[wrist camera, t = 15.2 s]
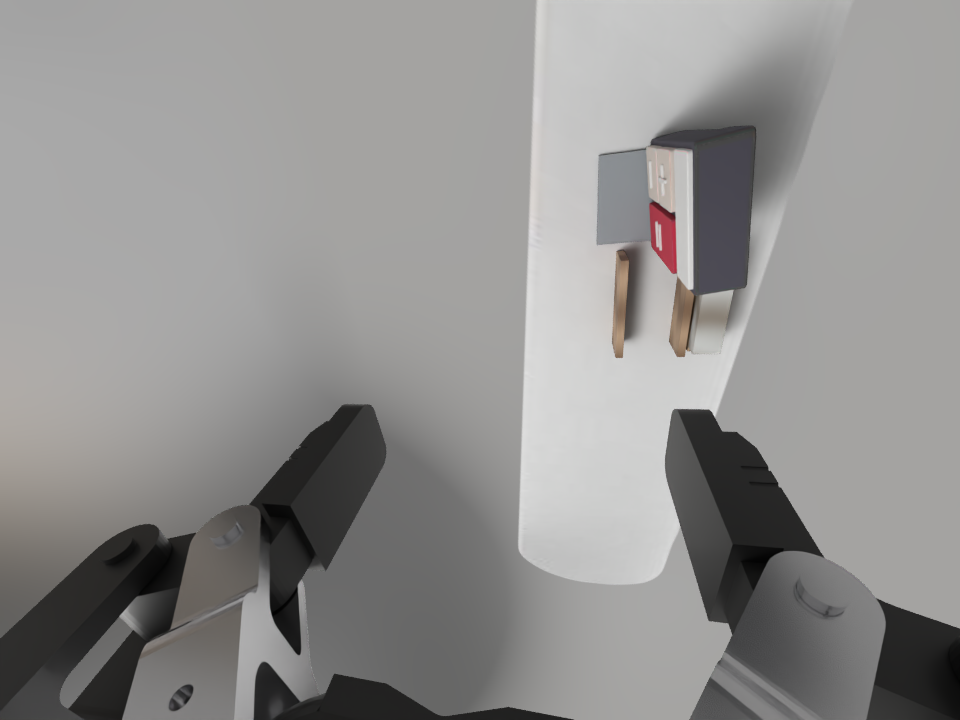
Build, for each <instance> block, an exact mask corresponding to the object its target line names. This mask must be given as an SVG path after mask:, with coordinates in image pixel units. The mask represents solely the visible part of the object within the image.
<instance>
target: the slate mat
mask: <svg viewBox="0 0 960 720" xmlns="http://www.w3.org/2000/svg"><path fill="white" fill-rule="evenodd" d="M652 202H654V200H653V199H651V198H650V197H649V193H648V175H647V157H646V150H639V151H631V152H623V153H616V154H608V155H600V156H599V171H598V214H597V245H602V244H614V243H627V242H639V241H651V229H650V211H649V203H652Z"/></svg>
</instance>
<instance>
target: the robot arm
mask: <svg viewBox="0 0 960 720" xmlns="http://www.w3.org/2000/svg"><path fill="white" fill-rule="evenodd" d="M385 458H386V445H385V442H384V438H383V435H382V432H381V429H380V426H379V423H378V420H377V417H376V414H375V411H374V409H373V407H372V406H371V405H368V404H367V405H366V404H364V405H363V404H345V405H342V406H341V407H340V408H339V409H338V411H337V412H336V413H335V414H334V416H333V417H332V418H331V419H330V420H329V421H326V422H325V423H324V424H322V425H321V426H319V427H318V428H316V429H315V430H314V431H312V432H311V433H310V434H309V435H308V436H307V437H306V438H305V440H304V441H303V442H302V443H301V444H300V445H299V449H296V450H295V451H294V452H293V454H292V455H291V456H290V457H289V461H286V462H285V463H284V464H283V465H282V467H281V468H280V469H279V470H278V471H277V472H276V474H275V475H274V476H273V477H272V478H271V479H270V481H269V482H268V483H267V484H266V485H265V486H264V488H263V489H262V490H261V491H260V492H259V494H258V495H257V496H256V497H255V498H254V500H253V501H252V502H251V503H250V504H249V505H240V506H235V507H232V508H229V509H227V510H225V511H223V512H221V513H219V514H217V515H216V516H214V517H213V518H211V519H210V520H209V521H208V522H206V523H205V524H204V525H203V526H202V527H201V528H200V529H199V530H198V532H197V533H193V534H188V535H183V536H179V537H174V538H170V539H167V538H166V537H165V536H164V535H163V533H162V532H161V531H160V530H159V529H158V528H157V527H156V526H155V525H151V524H144V525H139V526H135V527H132V528H130V529H127V530H125V531H123V532H121V533H119V534H117V535H116V536H114V537H112V538H111V539H109V540H108V541H106V542H105V543H103V544H102V545H101V546H99V547H98V548H97V549H96V550H95V551H94V552H93V553H92V554H90V555H89V556H88V557H87V558H86V559H85V560H84V561H83V562H82V563H81V564H80V565H79V566H78V567H77V568H75V569H74V570H73V571H72V572H71V573H70V574H69V575H68V576H67V577H66V578H65V579H64V580H63V581H62V582H60V583H59V584H58V585H57V586H56V587H55V588H54V589H53V590H52V591H51V592H50V593H49V594H48V595H46V596H45V597H44V598H43V599H42V600H41V601H40V602H39V603H38V604H37V605H36V606H35V607H34V608H33V609H32V610H30V611H29V612H28V613H27V614H26V615H25V616H24V617H23V618H22V619H21V620H20V621H19V622H18V623H16V624H15V625H14V626H13V627H12V628H11V629H10V630H9V631H8V632H7V633H6V634H5V635H4V636H3V637H2V638H0V720H573V719H568V718H562V717H557V716H552V715H547V714H542V713H536V712H531V711H526V710H521V709H516V708H510V707H506V708H499V709H492V710H486V711H480V712H472V713H465V714H458V715H452V716H440V715H437V714H435V713H433V712H432V711H430V710H428V709H427V708H425V707H423V706H422V705H420V704H419V703H417V702H415V701H414V700H412V699H411V698H409V697H407V696H406V695H404V694H402V693H401V692H399V691H398V690H396V689H394V688H392V687H391V686H389V685H388V684H385V683H379V682H374V681H369V680H364V679H359V678H354V677H348V676H343V675H338V674H334V675H333V678H332V680H331V683H330V685H329V687H328V689H327V692H326V693H324V694H321V695H320V694H319V690H318V686H317V683H316V680H315V678H314V675H313V672H312V668H311V663H310V655H309V641H308V628H307V616H306V602H305V589H304V584H303V582H302V581H301V579H302V577H303V576H304V574H305V572H306V570H307V569H312V570H320V571H326V570H327V568H328V566H329V564H330V563H331V561H332V559H333V557H334V555H335V553H336V551H337V550H338V548H339V546H340V544H341V542H342V541H343V539H344V537H345V535H346V533H347V531H348V529H349V528H350V526H351V524H352V522H353V520H354V519H355V517H356V515H357V513H358V511H359V509H360V508H361V506H362V504H363V502H364V500H365V498H366V497H367V495H368V493H369V491H370V489H371V487H372V486H373V484H374V482H375V480H376V478H377V477H378V474H379V473H380V471H381V469H382V467H383V465H384V463H385ZM665 471H666V478H667V482H668V486H669V489H670V492H671V496H672V499H673V502H674V506H675V509H676V513H677V516H678V519H679V523H680V526H681V529H682V533H683V536H684V539H685V543H686V546H687V549H688V553H689V556H690V559H691V563H692V566H693V569H694V573H695V576H696V579H697V583H698V586H699V590H700V593H701V596H702V600H703V603H704V607H705V610H706V613H707V617H708V620H709V621H714V622H722V623H729V626H730V629H731V632H732V637H731V639H730V642H729V644H728V646H727V648H726V650H725V652H724V654H723V656H722V658H721V660H720V661H719V662H718V663H717V665H716V666H715V668H714V671H713V672H712V674H711V677H710V678H709V680H708V682H707V684H706V686H705V689H704V691H703V693H702V695H701V697H700V699H699V701H698V703H697V705H696V707H695V709H694V711H693V714H692V716H691V718H690V720H960V629H959V628H956V627H953V626H951V625H948V624H945V623H942V622H939V621H936V620H933V619H930V618H927V617H924V616H921V615H919V614H915V613H913V612H910V611H907V610H904V609H901V608H898V607H895V606H893V605H890V604H888V603H885V602H883V601H881V600H879V599H877V598H875V596H874V595H873V594H872V593H871V591H870V590H869V589H868V588H867V587H866V586H865V585H864V584H863V583H862V582H861V581H860V580H859V579H858V578H856V577H855V576H854V575H853V574H851V573H850V572H848V571H847V570H845V569H844V568H843V567H841V566H839V565H837V564H836V563H834V562H832V561H830V560H827V559H825V558H824V556H823V555H822V553H821V552H820V550H819V549H818V547H817V546H816V544H815V542H814V541H813V539H812V537H811V536H810V534H809V532H808V531H807V529H806V528H805V526H804V524H803V523H802V521H801V519H800V518H799V516H798V515H797V513H796V511H795V510H794V508H793V507H792V505H791V503H790V501H789V500H788V498H787V497H786V495H785V493H784V492H783V490H782V489H781V488H780V487H779V486H778V482H777V480H776V479H775V477H774V475H773V474H772V472H771V471H769V470H768V466H767V464H766V462H765V461H764V459H763V458H762V456H761V454H760V453H759V451H758V450H757V448H756V447H755V446H753V445H752V444H751V443H750V442H748V441H747V440H746V439H745V438H743V437H742V436H741V435H739V434H738V433H737V432H722V430H721V429H720V427H719V425H718V423H717V421H716V419H715V417H714V415H713V414H712V412H711V411H710V410H700V409H674V410H673V412H672V415H671V422H670V428H669V435H668V442H667V448H666V455H665ZM118 617H120V618H121V619H122V620H123V621H124V622H126V623H127V624H128V625H129V626H130V627H131V628H132V629H133V631H132V632H131V634H130V635H129V636H128V637H127V638H126V640H125V641H124V642H123V643H122V645H121V646H120V647H119V648H118V649H117V651H116V652H115V653H114V654H113V656H112V657H111V658H110V659H109V660H108V662H107V663H106V664H105V665H104V666H103V668H102V669H101V670H100V671H99V673H98V674H97V675H96V676H95V677H94V679H93V680H92V681H91V683H90V684H89V685H88V686H87V687H86V688H85V690H84V691H83V692H82V693H81V695H80V696H79V697H78V698H77V699H76V701H75V702H74V703H73V704H72V706H71V707H70V708H69V709H67V708H65V707H64V706H63V705H62V704H61V703H60V698H59V697H60V690H61V688H62V685H63V683H64V681H65V679H66V678H67V676H68V675H69V673H70V672H71V671H72V670H73V669H74V668H75V667H76V665H77V664H78V663H79V662H80V661H81V660H82V659H83V657H84V656H85V655H86V654H87V653H88V652H89V650H90V649H91V648H92V647H93V646H94V645H95V644H96V642H97V641H98V640H99V639H100V638H101V637H102V636H103V634H104V633H105V632H106V631H107V630H108V629H109V628H110V626H111V625H112V624H113V623H114V622H115V621H116V619H117V618H118Z"/></svg>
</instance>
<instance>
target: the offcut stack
mask: <svg viewBox="0 0 960 720" xmlns="http://www.w3.org/2000/svg"><path fill="white" fill-rule="evenodd" d="M733 291H734V290H729V291H723V292H717V293H711V294H704V295H698V296H695V295H694V299H693V306H692V312H691V319H690V325H689V331H688V338H687V344H686V350H687V351H691V352H692V354H720V353H721V349H722V344H723V339H724V334H725V329H726V325H727V320H728V315H729V310H730V305H731V300H732V296H733Z"/></svg>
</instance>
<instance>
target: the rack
mask: <svg viewBox="0 0 960 720" xmlns="http://www.w3.org/2000/svg"><path fill="white" fill-rule="evenodd" d="M628 269H629V259H628V257H627V256H626V254H625V252H624V251H617V253H616V274H615V294H614V315H613V336H612V344H613V348H614V353H615V357H616V358H623V345H624V330H625V315H626V299H627V284H628ZM693 299H694V294H693V293H692V292H691V291H690V290H688V289H687V288H686V286H685V285H684V284H683V283H682V282H681V280H680V279H679V278H678V276H677V284H676V292H675V299H674V307H673V315H672V322H671V330H670V338H669V342H670V344H671V346H672V348H673V350H674V352H675V354H676V356H677V357H685V351H686V344H687V338H688V331H689V325H690V319H691V312H692V306H693Z"/></svg>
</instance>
